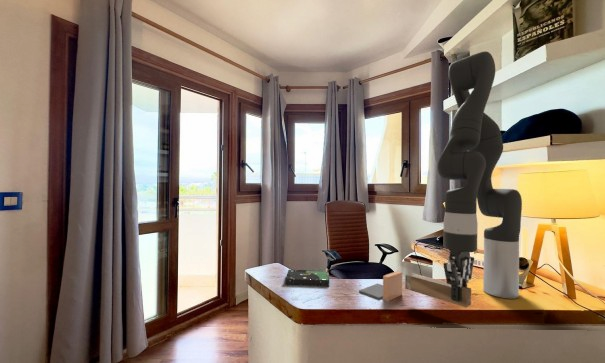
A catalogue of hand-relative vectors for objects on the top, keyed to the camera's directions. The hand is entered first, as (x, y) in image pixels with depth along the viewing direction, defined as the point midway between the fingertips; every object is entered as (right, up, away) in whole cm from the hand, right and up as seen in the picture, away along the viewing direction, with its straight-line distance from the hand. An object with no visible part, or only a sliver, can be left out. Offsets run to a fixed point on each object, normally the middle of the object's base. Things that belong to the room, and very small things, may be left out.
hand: (459, 298), depth 71 cm
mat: (-16, -5, +18) cm, 24 cm away
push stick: (-4, -1, +4) cm, 6 cm away
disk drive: (-38, -6, +27) cm, 47 cm away
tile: (-12, -5, +14) cm, 19 cm away
